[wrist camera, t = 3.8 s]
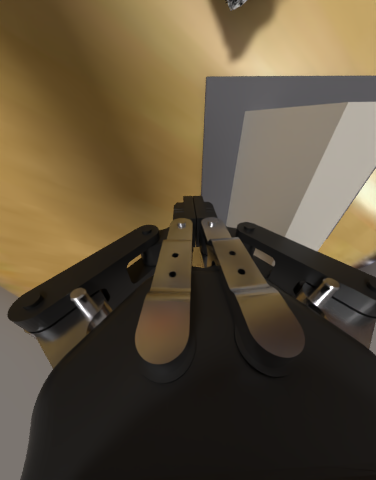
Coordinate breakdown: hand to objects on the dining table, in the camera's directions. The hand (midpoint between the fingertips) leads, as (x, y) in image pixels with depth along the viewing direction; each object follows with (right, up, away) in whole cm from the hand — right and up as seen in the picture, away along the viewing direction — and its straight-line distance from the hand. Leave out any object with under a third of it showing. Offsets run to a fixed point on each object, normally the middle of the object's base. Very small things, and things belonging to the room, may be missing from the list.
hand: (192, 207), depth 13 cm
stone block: (+6, +3, +4) cm, 8 cm away
